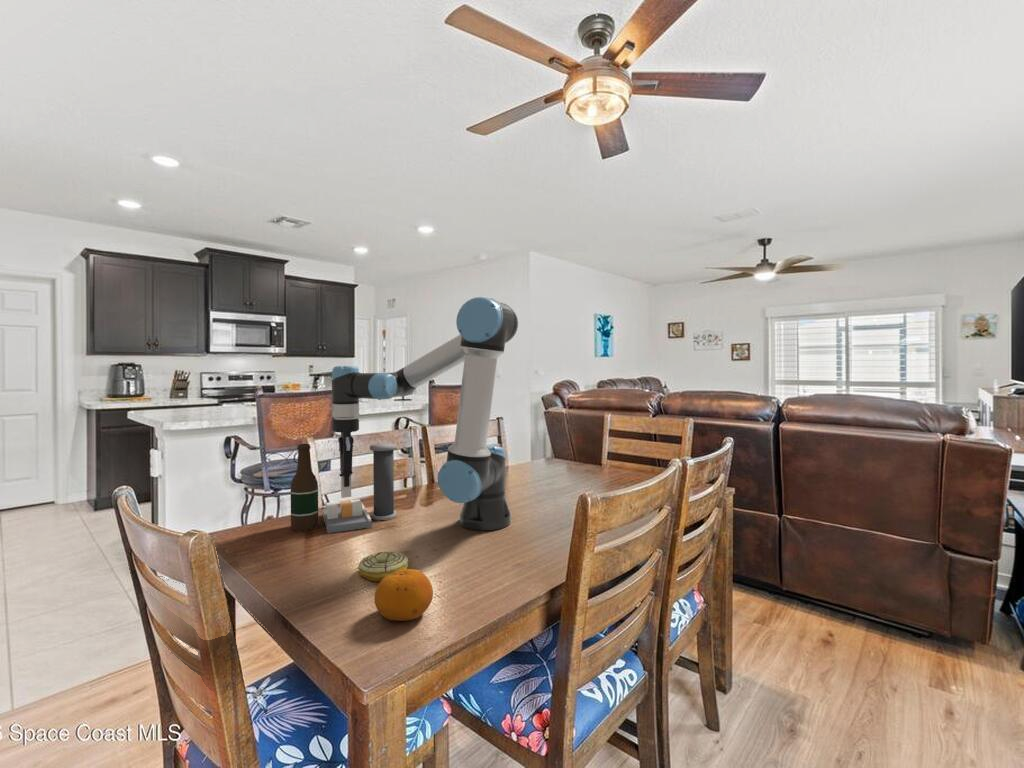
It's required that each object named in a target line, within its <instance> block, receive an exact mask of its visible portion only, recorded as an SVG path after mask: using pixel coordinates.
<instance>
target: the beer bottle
mask: <svg viewBox="0 0 1024 768" xmlns="http://www.w3.org/2000/svg"><path fill="white" fill-rule="evenodd" d="M311 448H312V447H311V444H310V443H299V444H297V448H296V449H297V464H296V465H297V468H296V472H295V474H294V476H293V477H292V479H291V482H290V527H291V531H292V530H294V531H293V532H298V531H302V532H306V531H305V530H310V531H312V530H311V529H313V530H315V529H317V528H318V527H319V485H318V480H317V476H316V475H315V473H314V472H313V471H312V466H311V465H312V464H311V451H310V450H311ZM316 527H317V528H316ZM314 528H315V529H314Z"/></svg>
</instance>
